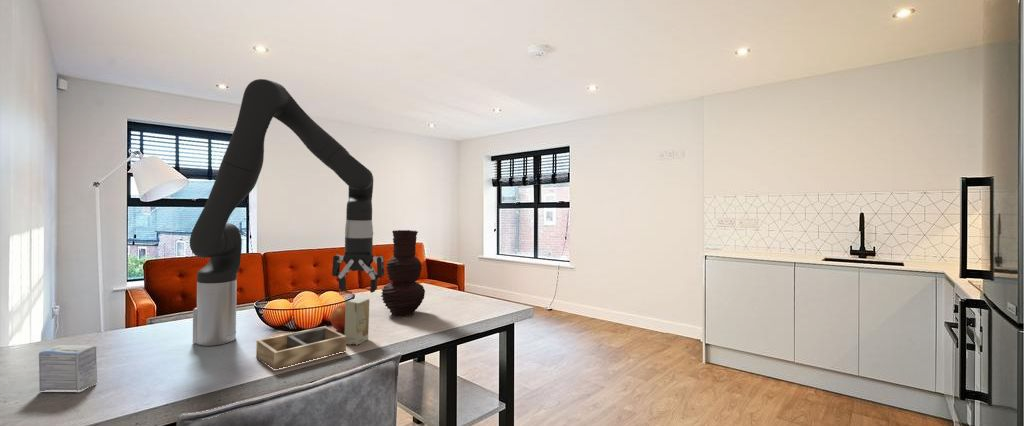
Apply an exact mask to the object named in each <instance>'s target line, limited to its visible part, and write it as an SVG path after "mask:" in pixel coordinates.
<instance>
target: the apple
mask: <svg viewBox="0 0 1024 426" xmlns="http://www.w3.org/2000/svg"><path fill="white" fill-rule="evenodd" d="M345 307H346V303H345V304H340V305H338V306H336V307H334V308H333V310H332V312H331V314H330V318H329V319H330V324H331V326H332V327H333V329H334V330H335V331H336V330H337V332H345Z"/></svg>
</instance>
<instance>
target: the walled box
mask: <svg viewBox="0 0 1024 426" xmlns="http://www.w3.org/2000/svg"><path fill="white" fill-rule="evenodd" d="M255 348H256V352H255V353H256V354H255V356H256V359H257V358H258V360H259V359H260V360H261V361H260V360H259V361H260V362H262V361H263V362H264V363H266V364H267V365H269V366H270V367H272V368H273V369H279V368H283V367H288V366H291V365H295V364H298V363H302V362H306V361H309V360H313V359H317V358H321V357H324V356H329V355H332V354H336V353H339V352H344V351H346V352H347V344H346V336H345V334H342V333H341V332H340V331H336V330H335V329H332V328H330V327H329V326H327V325H324V326H320V327H315V328H310V329H304V330H300V331H295V332H291V333H285V334H281V335H277V336H272V337H267V338H261V339H256V347H255ZM263 362H262V363H263ZM264 363H263V364H264ZM266 364H265V365H266ZM267 365H266V366H267ZM270 367H269V368H270Z"/></svg>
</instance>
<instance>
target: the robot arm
mask: <svg viewBox="0 0 1024 426" xmlns="http://www.w3.org/2000/svg"><path fill="white" fill-rule="evenodd" d="M273 118H275V119H276V120H278V121H279V122H281V123H282V124H283V125H285V126H286V127H287V128H288V129H290V130H291V132H293V133H294V134H295V135H296V136H297V137H298V138H299V140H300V141H301V142H302V143H303V145H304V146H305V147H306V148H307V150H309V152H310V153H311V154H313V155H314V156H315V157H316V158H317V159H318V160H319V161H321V162H322V163H323V164H324V165H325V166H327V168H329V169H330V170H331V171H333V172H334V173H335V175H337V176H338V178H339V179H341V180H342V181H343V182H344V183H345V184H346V185H347V186H348V201H347V203H346V211H345V212H346V215H345V216H346V220H345V228H344V235H345V236H344V255H341V254H335V255H333V257H332V271H331V275H332V276H333V277H336V278H338V290H340V292H345V291H346V290H347V277H346V276H348V273H350V271H351V272H356V271H357V272H363V271H365V273H366V274H367V275H369V277H370V282H369V283H370V286H369V287H370V289H369V290H370V291H369V292H370V293H375V291H376V290H377V289H378V279H380V278H382V277H384V276H385V264H384V263H385V259H384V256H383V255H380V256H374V255H373V244H374V243H373V239H374V237H373V235H374V229H373V228H374V227H373V203H372V202H373V201H372V200H373V193H374V175H373V173H372V171H371V170H370V169H369V168H367V167H366V166H365V165H363V164H362V163H361V162H360V161H358V160H357V159H356V158H355V157H354V156H352V155H351V154H350V152H349V151H348V150H347V149H346V148H345V147H344V146H343V145H342V144H341V143H340V142H339V141H337V140H336V139H335V138H334V137H333V136H332V135H330V133H328V132H327V131H326V130H324V128H323V127H322V126H320V125H319V124H318V123H317V122H315V120H313V119H312V118H311V117H310V116H309V115H308V114H307V113H306V111H304V110H303V108H302V107H301V105H299V104H298V103H297V101H296V100H295V99H294V97H293V96H292V95H291V94H290V92H289V91H288V90H287V89H286V88H285V87H284V85H282V84H280V83H278V82H277V81H272V80H269V79H267V78H256V79H253V80H252V81H250V82H249V83H248V85H247V86H246V87H245V89H244V92H243V96H242V100H241V104H240V109H239V113H238V117H237V121H236V124H235V127H234V130H233V132H232V134H231V137H230V140H229V142H228V145H227V148H226V150H225V153H224V154H223V158H222V159H221V163H220V165H219V168H218V170H217V174H216V178H215V180H214V183H213V185H212V188H211V190H210V192H209V195H208V198H207V199H206V203H205V204H204V207H203V209H202V211H201V213H200V214H199V217H198V219H197V221H196V222H195V224H194V227H193V229H192V231H191V233H190V235H189V236H190V237H189V246H190V248H189V249H190V250H191V252H192V254H193V255H194V256H195V257H198V258H202V259H203V258H205V259H206V258H209V260H208V262H207V264H206V265H205V266H204V267H202V268H201V269H199V270H198V271H197V273H196V307H195V308H193V309H192V344H196V345H199V346H204V347H209V346H210V347H211V346H219V345H225V344H228V343H231V342H233V341H235V340H236V339H237V338H236V337H237V288H238V287H237V280H238V279H237V277H238V276H237V275H238V272H239V270H240V268H241V260H242V259H241V257H242V245H243V243H242V241H243V240H242V234H241V231H240V229H239V228H238V227H237V225H235V224H234V223H230V222H228V221H229V218H230V216H231V215H232V213H233V212H234V211H235V209H236V208H237V207H238V206H239V205H240V204H241V203H242V202H243V201H244V200H245V199H246V198H247V196H248V195H250V193H251V192H252V191H253V190H254V188H255V187H256V184H257V182H258V181H259V176H260V174H261V172H262V169H263V165H264V158H265V156H264V154H265V140H266V138H265V137H266V134H267V132H268V129H269V126H270V124H271V121H272V120H273ZM342 262H344V263H345V264H346V265H345V266H344V267H343V269H341V263H342ZM373 262H374V263H375V264H376V268H377V269H376V271H375V268H374V267H373V266H372V263H373ZM340 270H341V271H340Z"/></svg>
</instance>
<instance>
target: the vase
mask: <svg viewBox="0 0 1024 426" xmlns="http://www.w3.org/2000/svg"><path fill="white" fill-rule="evenodd" d="M418 233H419V231H417V230H412V229H411V230H410V229H405V230H404V229H403V230H401V229H399V230H394V229H393V230H392V236H393V238H392V242H393V244H392V245H393V251H392V253H393V256H392V257H391V258H390V259H389V260H387V261H386V263H385V264H386V266H385V268H386V275H387V278H388V280H389V281H391V282H388V283H386V285H384V286H383V288H382V289H381V295H380V297H381V301H383V302H382V303H383V304H385V305H384V306H385V307H386V308H387V310H389V313H391V316H394V317H402V318H403V317H404V318H405V317H409V316H413V315H414V314H415V311H417V309H418V308H419V307H420V306H421V304H422V303H423V301H424V300H425V297H426V296H425V294H426V290H425V287H424V285H422V284H421V283H419V282H417V280H418V279H419V278H420V276H421V272H422V266H423V265H422V262H421V261H420V259H419V258H418V257H416V245H417V235H418Z"/></svg>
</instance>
